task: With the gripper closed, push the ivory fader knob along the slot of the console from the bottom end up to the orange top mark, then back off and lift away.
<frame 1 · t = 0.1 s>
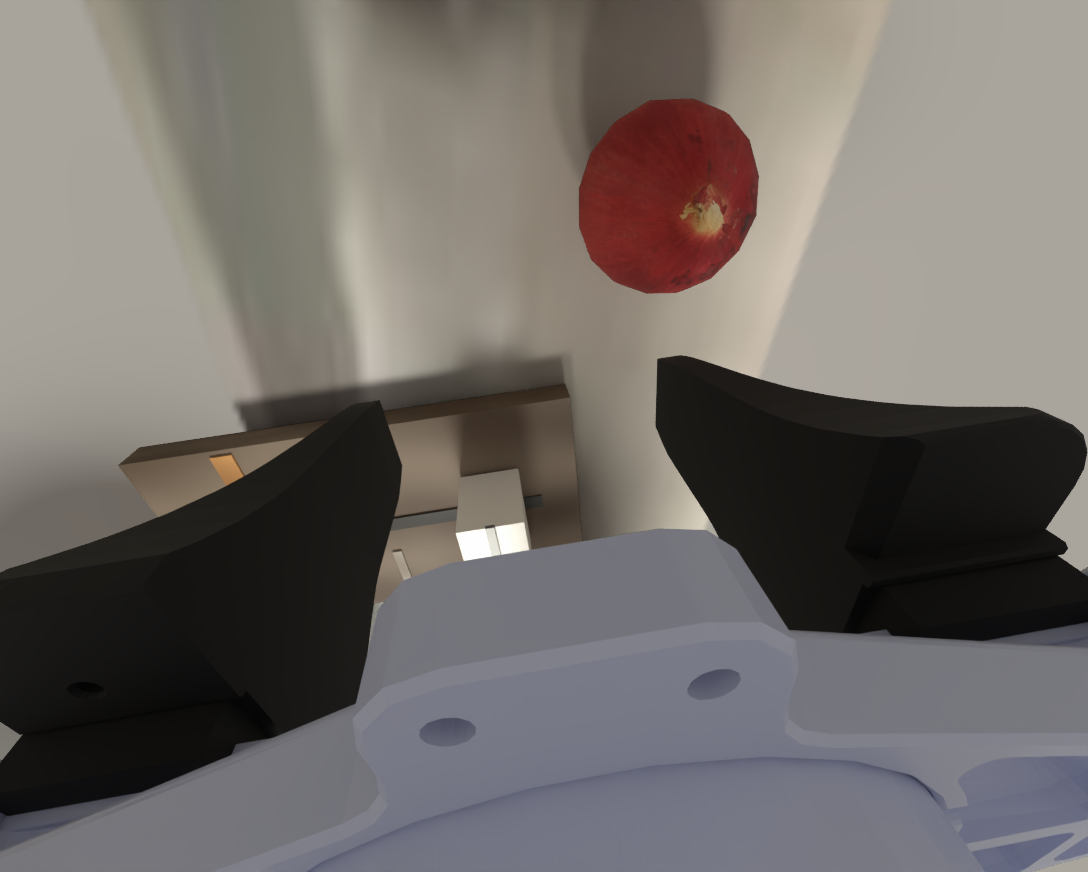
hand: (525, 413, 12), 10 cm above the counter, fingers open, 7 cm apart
fader knob: (498, 537, 22), point 4 cm above the counter, slide at -6.0 cm
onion: (631, 196, 19), on the counter
fader console: (391, 506, 25), on the counter
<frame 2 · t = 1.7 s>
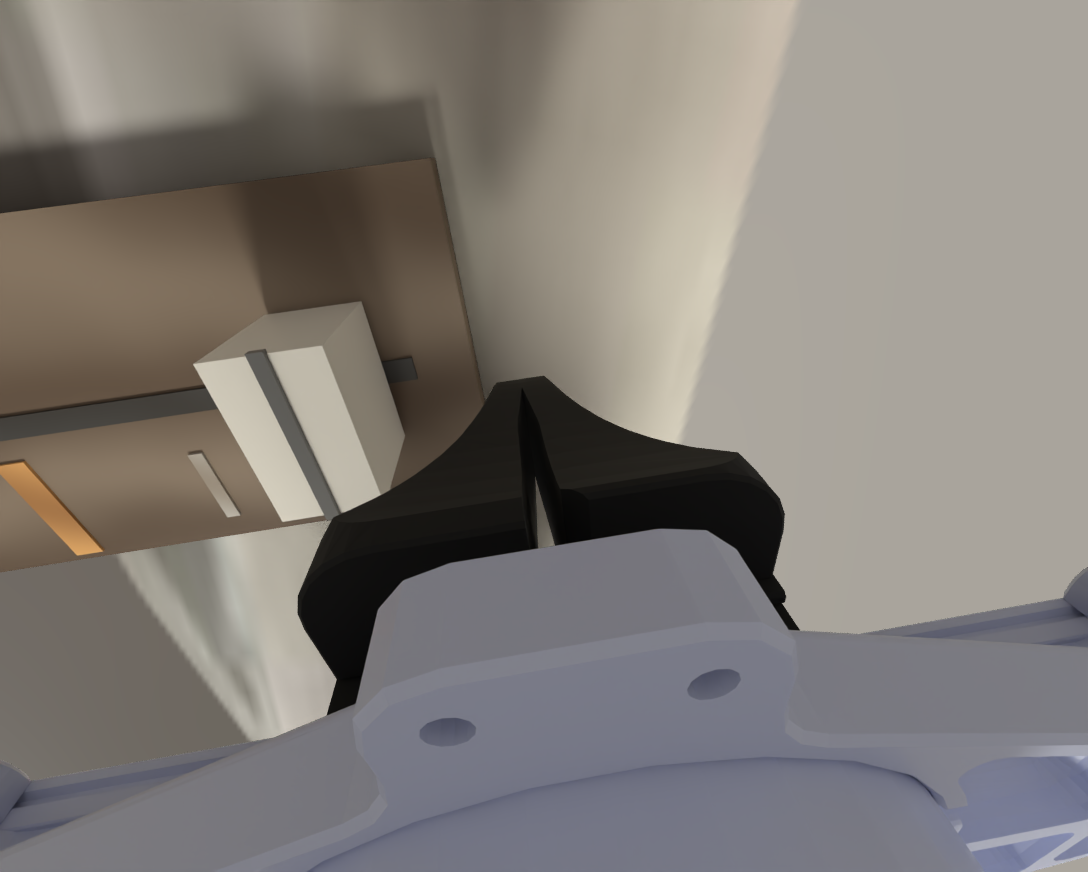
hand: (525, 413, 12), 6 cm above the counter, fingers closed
fader knob: (322, 409, 13), point 4 cm above the counter, slide at -6.0 cm
fader console: (189, 385, 16), on the counter
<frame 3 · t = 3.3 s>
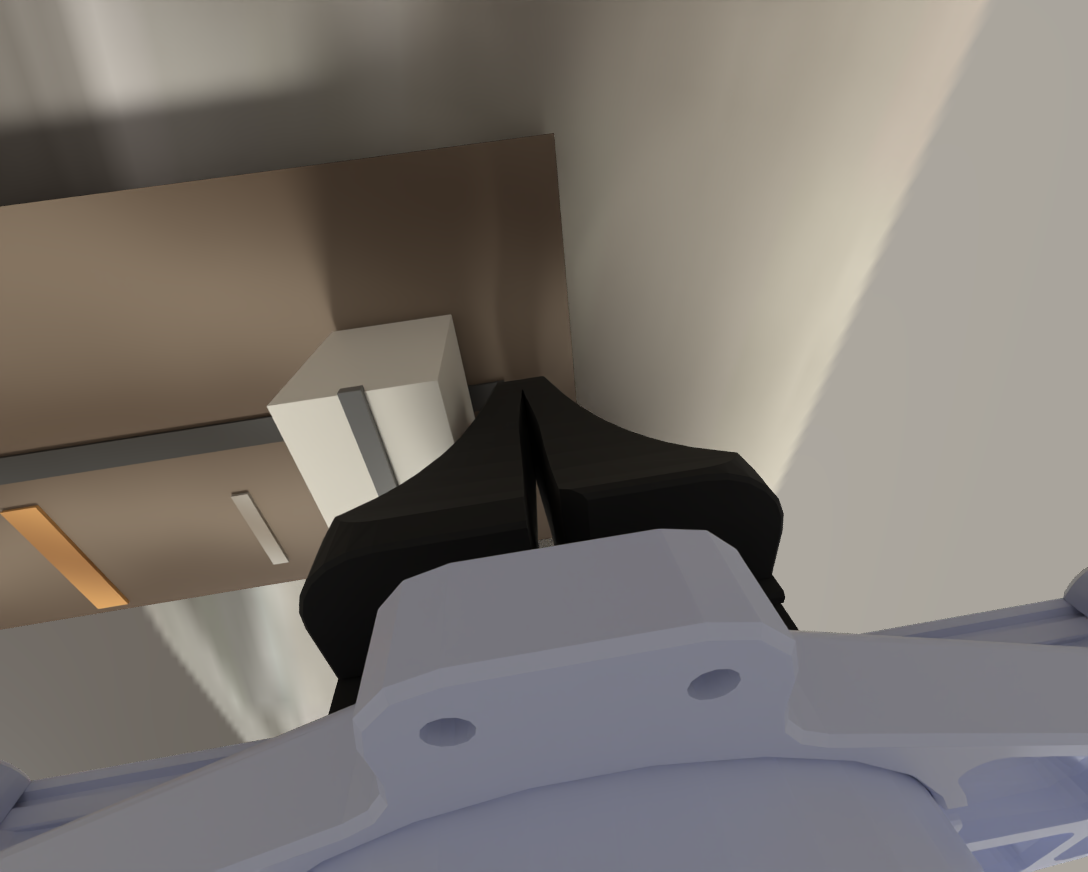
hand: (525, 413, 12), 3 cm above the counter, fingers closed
fader knob: (407, 449, 11), point 4 cm above the counter, slide at -6.0 cm, touching gripper
fader console: (232, 413, 14), on the counter
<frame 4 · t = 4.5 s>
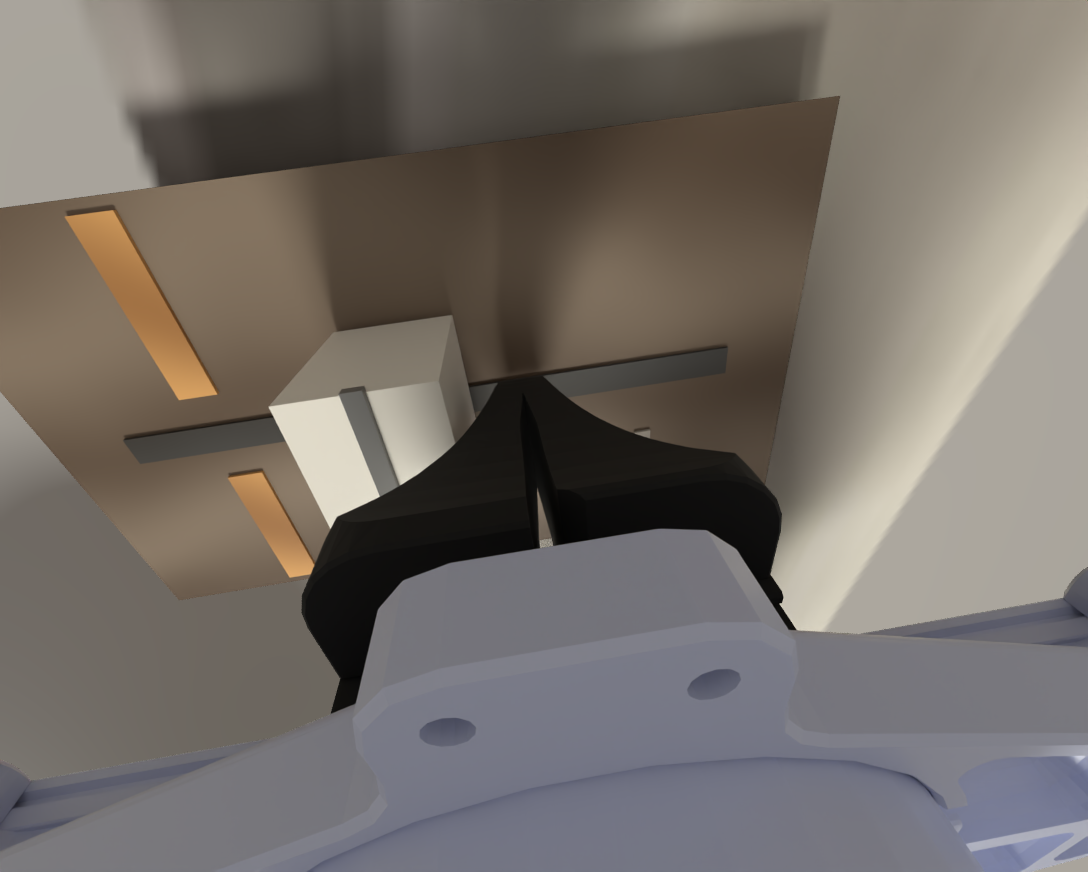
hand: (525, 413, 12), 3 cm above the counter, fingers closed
fader knob: (408, 450, 11), point 4 cm above the counter, slide at 0.5 cm, touching gripper
fader console: (440, 381, 14), on the counter
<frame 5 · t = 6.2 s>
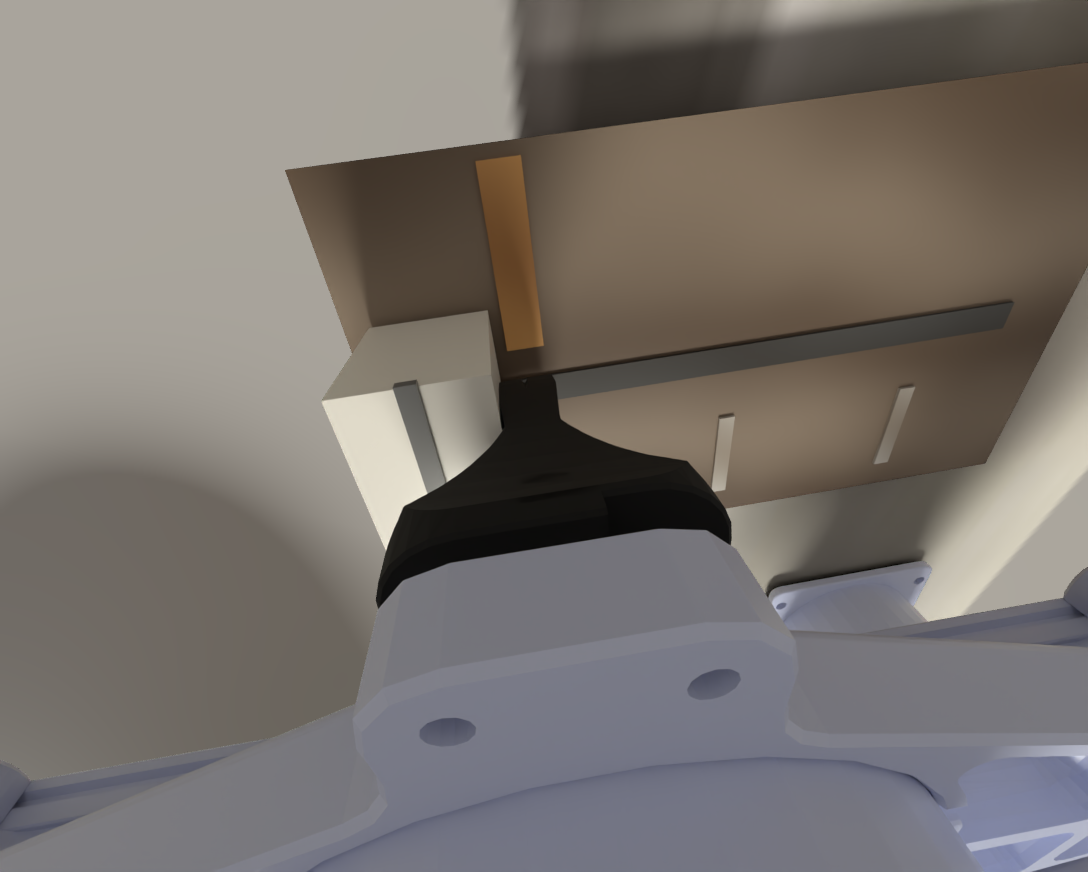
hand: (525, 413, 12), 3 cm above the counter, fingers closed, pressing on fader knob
fader knob: (446, 445, 11), point 4 cm above the counter, slide at 8.3 cm, touching gripper
fader console: (710, 340, 14), on the counter
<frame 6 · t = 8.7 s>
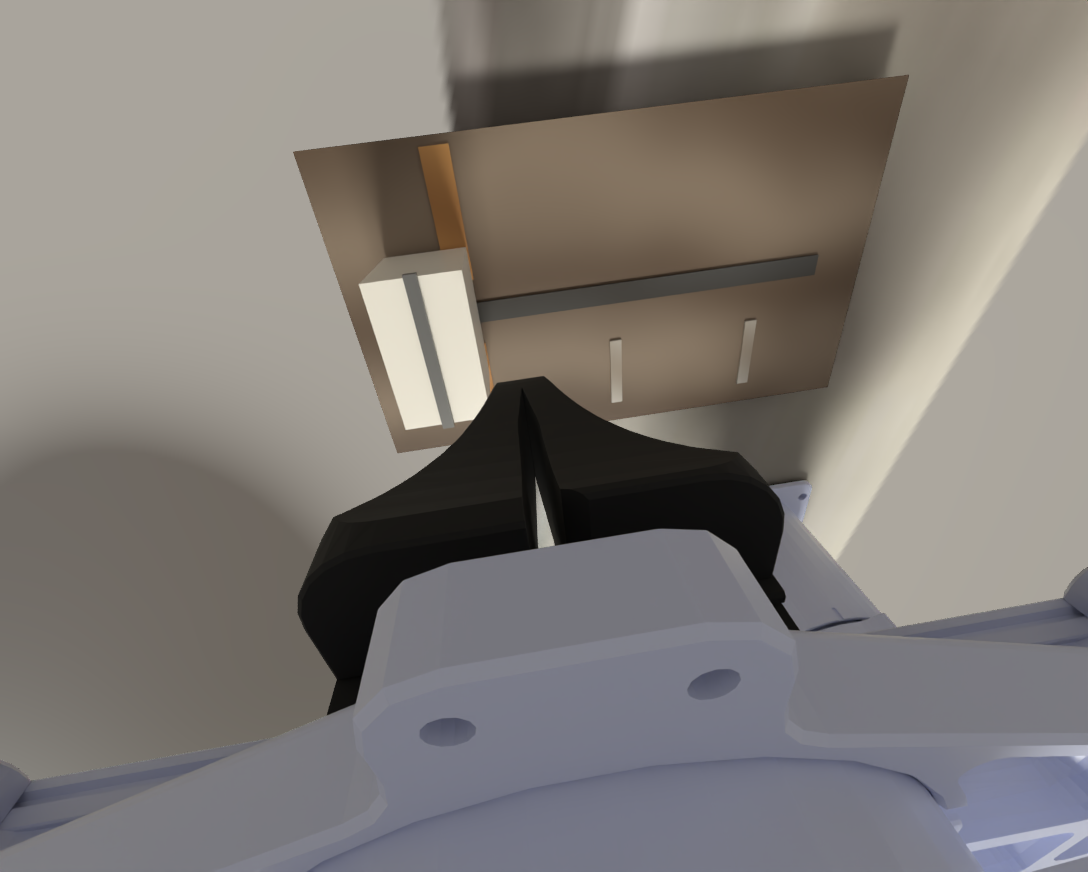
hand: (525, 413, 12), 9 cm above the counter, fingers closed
fader knob: (436, 336, 16), point 4 cm above the counter, slide at 7.1 cm
fader console: (605, 284, 19), on the counter
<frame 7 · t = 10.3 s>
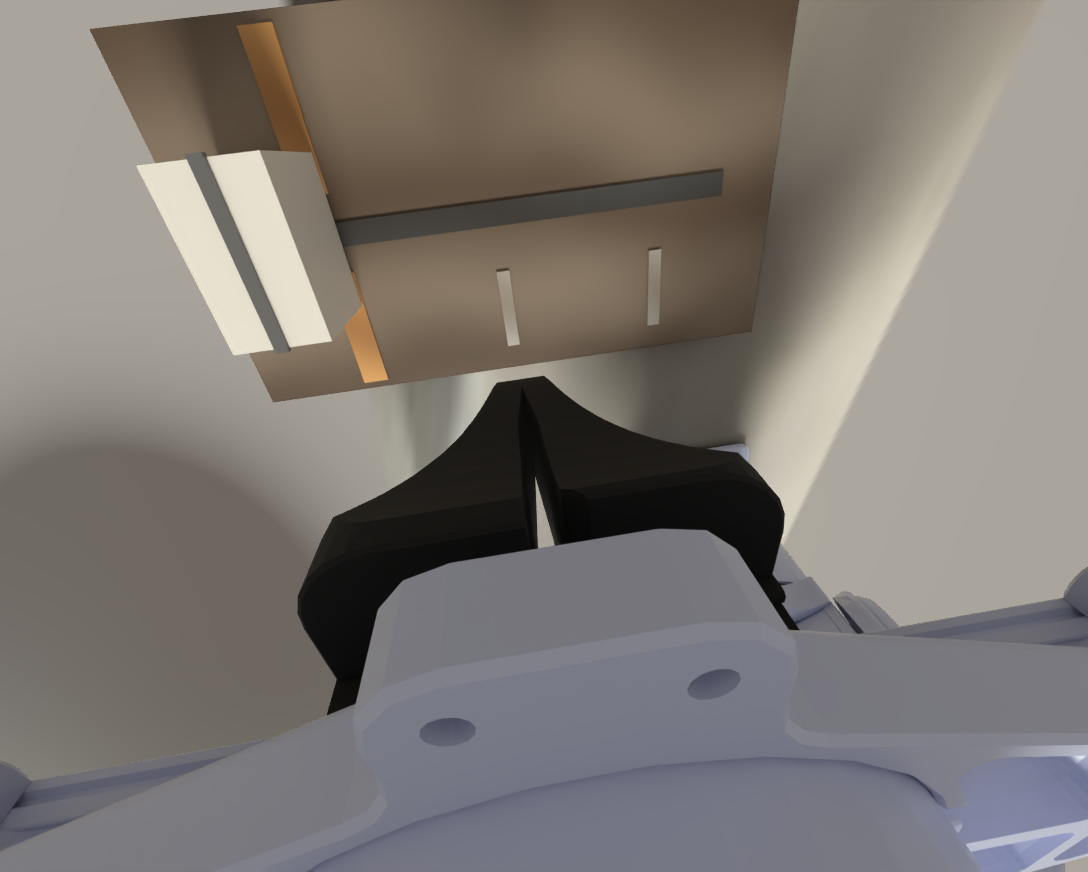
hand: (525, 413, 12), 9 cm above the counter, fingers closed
fader knob: (272, 251, 14), point 4 cm above the counter, slide at 7.1 cm
fader console: (493, 209, 17), on the counter
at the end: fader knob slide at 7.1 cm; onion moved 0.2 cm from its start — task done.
